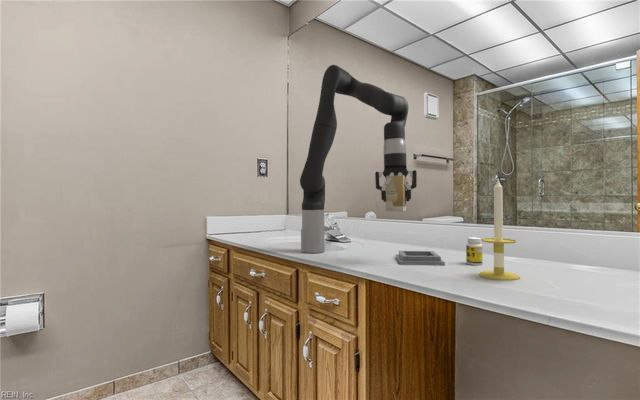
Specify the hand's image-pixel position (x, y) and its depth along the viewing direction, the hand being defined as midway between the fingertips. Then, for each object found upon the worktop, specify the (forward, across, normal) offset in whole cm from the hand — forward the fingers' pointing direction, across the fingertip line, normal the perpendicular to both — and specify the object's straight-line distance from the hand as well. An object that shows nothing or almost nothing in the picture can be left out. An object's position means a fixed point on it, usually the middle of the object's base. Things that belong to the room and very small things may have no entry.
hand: (396, 201), depth 115 cm
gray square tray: (+21, +7, +1) cm, 22 cm away
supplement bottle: (+21, +24, -2) cm, 32 cm away
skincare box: (+4, 0, 0) cm, 4 cm away
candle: (+21, +25, -19) cm, 38 cm away
